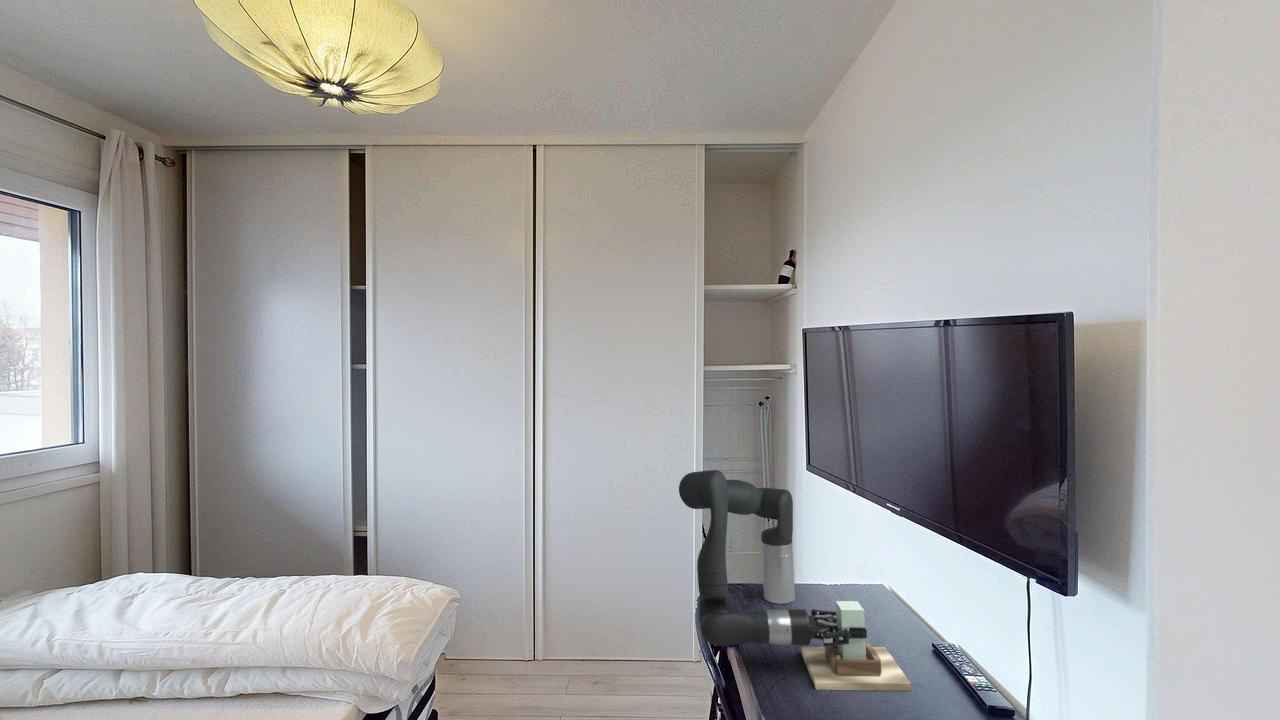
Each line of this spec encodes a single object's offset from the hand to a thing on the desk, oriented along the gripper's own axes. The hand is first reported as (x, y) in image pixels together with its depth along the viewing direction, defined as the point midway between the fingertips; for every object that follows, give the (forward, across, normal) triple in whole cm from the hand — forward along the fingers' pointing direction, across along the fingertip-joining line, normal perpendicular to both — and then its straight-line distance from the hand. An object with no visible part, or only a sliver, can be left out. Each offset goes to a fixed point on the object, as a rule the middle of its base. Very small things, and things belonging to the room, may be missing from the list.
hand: (862, 627), depth 129 cm
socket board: (-3, 0, +10) cm, 10 cm away
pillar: (-3, 0, +7) cm, 7 cm away
